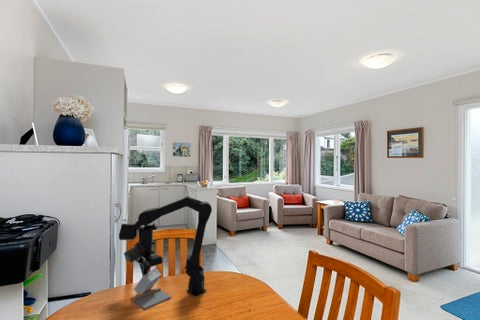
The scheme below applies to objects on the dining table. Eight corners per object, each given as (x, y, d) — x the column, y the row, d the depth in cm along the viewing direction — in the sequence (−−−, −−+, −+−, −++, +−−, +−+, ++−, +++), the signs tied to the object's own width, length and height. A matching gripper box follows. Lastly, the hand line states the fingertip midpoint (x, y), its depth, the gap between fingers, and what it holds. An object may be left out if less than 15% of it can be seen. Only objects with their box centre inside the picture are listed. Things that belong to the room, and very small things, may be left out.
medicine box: (139, 297, 109) (151, 282, 107) (132, 289, 110) (144, 274, 108) (151, 288, 116) (162, 275, 115) (144, 281, 117) (155, 267, 116)
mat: (159, 290, 114) (159, 287, 114) (171, 298, 109) (171, 294, 109) (132, 301, 105) (133, 297, 105) (144, 309, 99) (144, 305, 99)
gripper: (117, 238, 112) (115, 275, 112) (138, 249, 100) (137, 290, 99) (141, 234, 120) (140, 268, 120) (164, 243, 108) (162, 280, 108)
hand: (144, 276), depth 112 cm, fingers closed
